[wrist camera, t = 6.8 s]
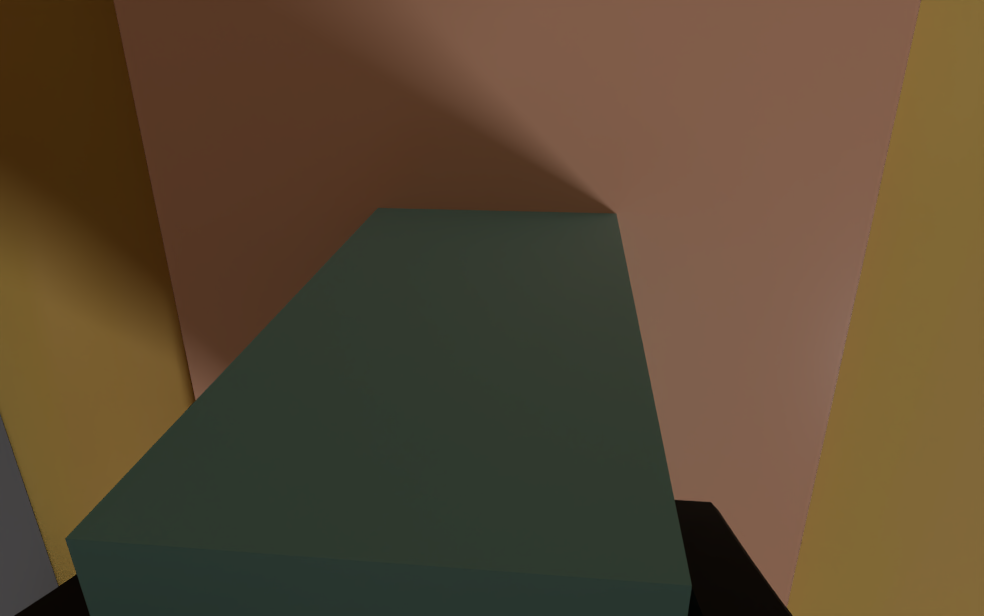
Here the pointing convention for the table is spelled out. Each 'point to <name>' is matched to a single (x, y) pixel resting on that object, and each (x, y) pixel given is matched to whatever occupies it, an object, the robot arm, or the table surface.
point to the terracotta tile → (552, 182)
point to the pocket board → (19, 541)
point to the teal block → (414, 443)
